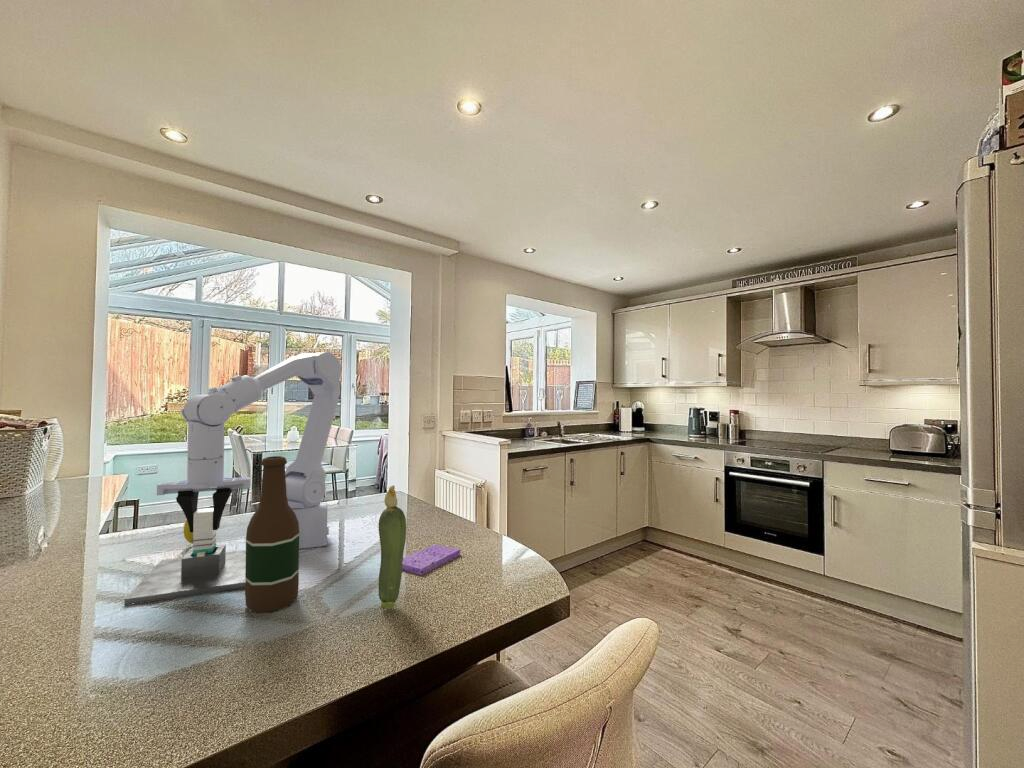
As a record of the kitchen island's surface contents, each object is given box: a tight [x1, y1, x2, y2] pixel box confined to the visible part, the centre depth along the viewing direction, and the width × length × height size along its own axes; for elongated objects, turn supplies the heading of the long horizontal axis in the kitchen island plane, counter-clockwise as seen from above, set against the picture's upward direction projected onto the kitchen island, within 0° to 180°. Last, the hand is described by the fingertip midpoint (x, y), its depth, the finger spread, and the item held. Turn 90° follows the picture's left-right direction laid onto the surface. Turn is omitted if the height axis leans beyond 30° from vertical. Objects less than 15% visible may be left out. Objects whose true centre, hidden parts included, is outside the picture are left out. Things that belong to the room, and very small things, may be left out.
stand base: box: [124, 544, 246, 606], centre depth 84 cm, size 18×18×5 cm
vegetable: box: [378, 485, 407, 611], centre depth 72 cm, size 4×4×20 cm
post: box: [192, 507, 217, 556], centre depth 84 cm, size 3×3×8 cm
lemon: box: [183, 519, 193, 545], centre depth 99 cm, size 6×6×8 cm
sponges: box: [402, 543, 461, 576], centre depth 92 cm, size 7×13×2 cm, turn 150°
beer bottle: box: [244, 455, 300, 614], centre depth 73 cm, size 8×8×24 cm
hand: (204, 529), depth 84 cm, fingers closed on post, 3 cm apart
